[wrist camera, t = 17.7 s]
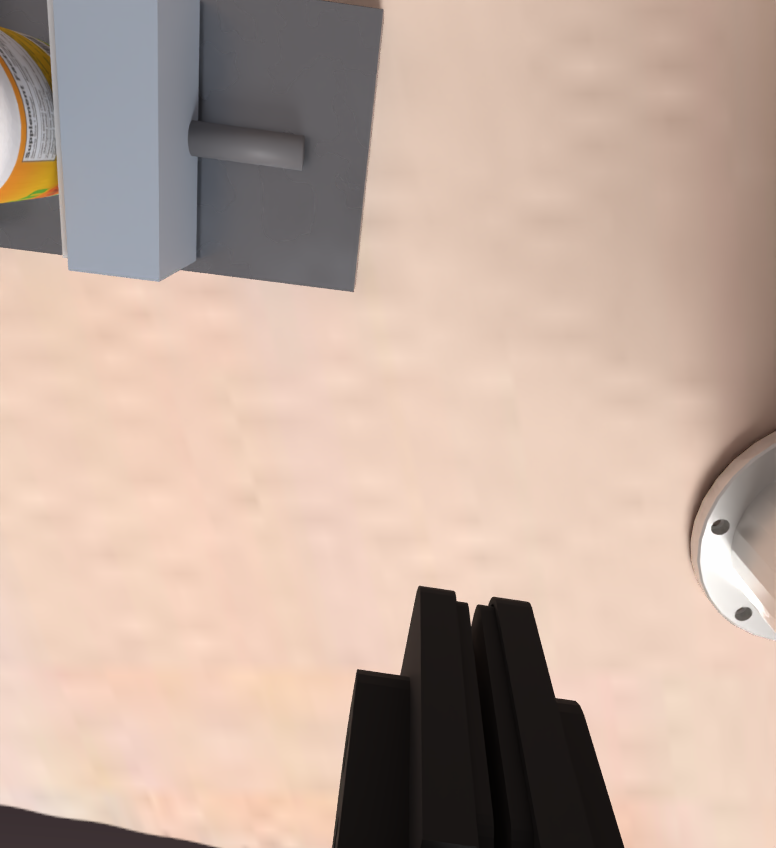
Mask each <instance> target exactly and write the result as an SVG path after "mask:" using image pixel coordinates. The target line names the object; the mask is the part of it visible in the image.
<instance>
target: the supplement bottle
mask: <svg viewBox="0 0 776 848" xmlns="http://www.w3.org/2000/svg"><path fill="white" fill-rule="evenodd" d="M55 195H59V188H58V172H57V155H56V139H55V123H54V106H53V90H52V74H51V57H50V44H48V43H46V42H44V41H42V40H39V39H37V38H34V37H31V36H28V35H25V34H22V33H19V32H16V31H13V30H10V29H6V28H3V27H0V203H7V202H15V201H21V200H28V199H35V198H42V197H50V196H55Z"/></svg>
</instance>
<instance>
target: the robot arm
mask: <svg viewBox="0 0 776 848" xmlns="http://www.w3.org/2000/svg"><path fill="white" fill-rule="evenodd" d="M691 562H692V566H693V569H694V572H695V576H696V579H697V581H698V583H699V585H700V587H701V588H702V590H703V592H704V593H705V595H706V597H707V598H708V599H709V601H710V602H711V603H712V604H713V606H714V607H715V608H716V610H717V611H718V612H719V613H720V614H721V615H722V616H723V617H724V618H725V619H727V620H728V621H729V622H730V623H731V624H733V625H734V626H736V627H738V628H740V629H742V630H744V631H746V632H748V633H750V634H752V635H755V636H758V637H762V638H765V639H769V640H772V641H776V431H774V432H773V433H771V434H769V435H768V436H766V437H764V438H762V439H761V440H759V441H757V442H755V443H754V444H753V445H752V446H750V447H749V448H748V449H747V450H745V451H744V452H743V453H742V454H740V455H739V456H738V457H737V458H735V459H734V460H733V461H732V462H731V463H730V464H729V466H728V467H727V468H726V469H725V470H724V471H723V472H722V473H721V474H720V475H719V477H718V478H717V479H716V480H715V482H714V483H713V485H712V486H711V488H710V490H709V491H708V493H707V494H706V496H705V497H704V499H703V501H702V503H701V506H700V508H699V511H698V513H697V516H696V518H695V521H694V526H693V531H692V537H691ZM332 848H624V845H623V842H622V839H621V835H620V832H619V829H618V825H617V822H616V819H615V815H614V812H613V809H612V806H611V802H610V799H609V796H608V792H607V789H606V786H605V782H604V779H603V776H602V773H601V769H600V766H599V763H598V759H597V756H596V753H595V750H594V746H593V743H592V740H591V736H590V733H589V730H588V726H587V723H586V720H585V717H584V714H583V711H582V709H581V707H580V705H579V704H578V703H577V702H576V701H572V700H565V699H558V698H555V695H554V691H553V687H552V683H551V679H550V676H549V672H548V668H547V664H546V660H545V656H544V652H543V649H542V645H541V641H540V637H539V633H538V629H537V625H536V622H535V618H534V614H533V610H532V607H531V604H530V603H529V602H525V601H518V600H512V599H505V598H498V597H492V598H491V600H490V602H489V605H488V606H485V605H477V607H476V609H475V613H474V617H473V621H472V625H471V623H470V614H469V606H468V603H465V602H458V601H456V594H455V592H454V591H451V590H444V589H437V588H430V587H424V586H419V587H418V589H417V593H416V598H415V603H414V608H413V613H412V618H411V623H410V628H409V633H408V639H407V644H406V649H405V654H404V659H403V664H402V669H401V674H400V675H393V674H386V673H379V672H372V671H366V670H359V669H357V673H356V678H355V684H354V690H353V696H352V702H351V708H350V715H349V721H348V728H347V735H346V742H345V749H344V757H343V764H342V772H341V780H340V788H339V796H338V805H337V813H336V821H335V829H334V837H333V845H332Z"/></svg>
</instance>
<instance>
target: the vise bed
mask: <svg viewBox="0 0 776 848" xmlns="http://www.w3.org/2000/svg"><path fill="white" fill-rule="evenodd" d="M383 22H384V10H383V9H377V8H370V7H363V6H356V5H349V4H342V3H335V2H329V1H322V0H200V25H199V94H198V121H202V122H209V123H217V124H224V125H231V126H239V127H246V128H253V129H261V130H268V131H275V132H283V133H290V134H298V135H304V136H305V157H304V165H303V169H302V171H300V170H293V169H285V168H278V167H270V166H263V165H255V164H248V163H241V162H233V161H226V160H218V159H211V158H203V157H198V164H197V233H196V261H195V262H193V263H191V264H190V265H188V266H186V267H184V268H183V269H181V270H185V271H192V272H200V273H208V274H216V275H224V276H232V277H240V278H248V279H256V280H263V281H271V282H279V283H287V284H295V285H303V286H311V287H319V288H327V289H334V290H342V291H350V292H354V289H355V285H356V275H357V266H358V257H359V247H360V238H361V228H362V219H363V210H364V200H365V191H366V181H367V172H368V163H369V153H370V144H371V134H372V125H373V116H374V106H375V97H376V87H377V78H378V69H379V59H380V50H381V41H382V31H383ZM0 27H3V28H6V29H10V30H13V31H16V32H19V33H22V34H25V35H28V36H31V37H34V38H37V39H39V40H42V41H44V42H46V43H48V44H50V41H49V25H48V8H47V0H0ZM0 247H3V248H11V249H19V250H27V251H35V252H43V253H50V254H58V255H63V253H62V237H61V221H60V204H59V195H55V196H50V197H42V198H35V199H28V200H21V201H15V202H7V203H0Z"/></svg>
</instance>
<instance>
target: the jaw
mask: <svg viewBox="0 0 776 848" xmlns="http://www.w3.org/2000/svg"><path fill="white" fill-rule="evenodd" d="M47 8H48V25H49V41H50V57H51V74H52V90H53V106H54V123H55V139H56V155H57V172H58V188H59V204H60V221H61V237H62V253H63V257H64V258H68V269H69V270H70V271H78V272H86V273H94V274H102V275H110V276H118V277H126V278H134V279H142V280H150V281H158V282H160V281H161V280H163V279H165V278H167V277H168V276H170V275H172V274H174V273H176V272H177V271H179V270H181V269H183V268H184V267H186V266H188V265H190V264H191V263H193V262H195V261H196V233H197V164H198V157H203V158H211V159H218V160H226V161H233V162H241V163H248V164H255V165H263V166H270V167H278V168H285V169H293V170H300V171H302V169H303V165H304V157H305V136H304V135H298V134H290V133H283V132H275V131H268V130H261V129H253V128H246V127H239V126H231V125H224V124H217V123H209V122H202V121H198V94H199V25H200V0H47Z"/></svg>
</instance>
